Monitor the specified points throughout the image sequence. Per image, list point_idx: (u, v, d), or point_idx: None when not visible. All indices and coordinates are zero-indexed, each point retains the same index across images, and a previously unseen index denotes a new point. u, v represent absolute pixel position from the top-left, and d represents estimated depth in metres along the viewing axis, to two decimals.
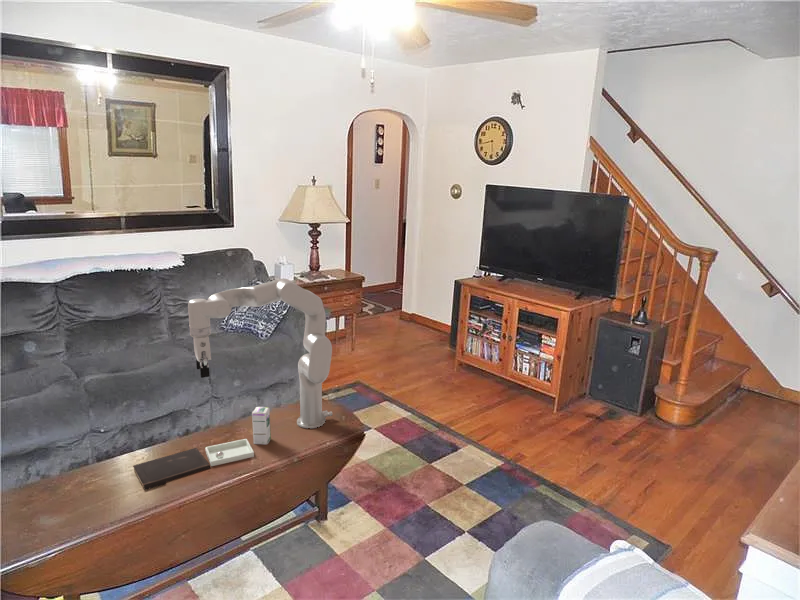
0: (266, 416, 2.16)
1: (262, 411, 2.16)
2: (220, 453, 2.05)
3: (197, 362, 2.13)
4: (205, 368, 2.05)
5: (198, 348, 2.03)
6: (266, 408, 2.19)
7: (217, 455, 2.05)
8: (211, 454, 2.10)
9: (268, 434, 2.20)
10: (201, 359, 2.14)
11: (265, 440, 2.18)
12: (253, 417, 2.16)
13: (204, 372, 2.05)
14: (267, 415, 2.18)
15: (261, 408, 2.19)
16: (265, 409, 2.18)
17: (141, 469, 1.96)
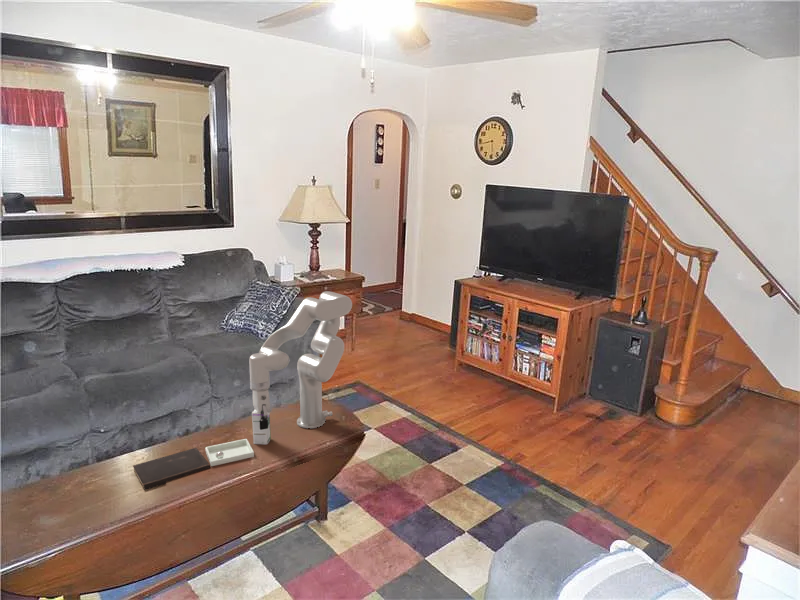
0: None
1: (262, 411, 2.16)
2: (220, 453, 2.05)
3: None
4: (265, 421, 2.14)
5: (259, 401, 2.12)
6: None
7: (217, 455, 2.05)
8: (211, 454, 2.10)
9: (268, 434, 2.20)
10: None
11: (265, 440, 2.18)
12: (253, 417, 2.16)
13: (263, 424, 2.14)
14: None
15: None
16: None
17: (141, 469, 1.96)
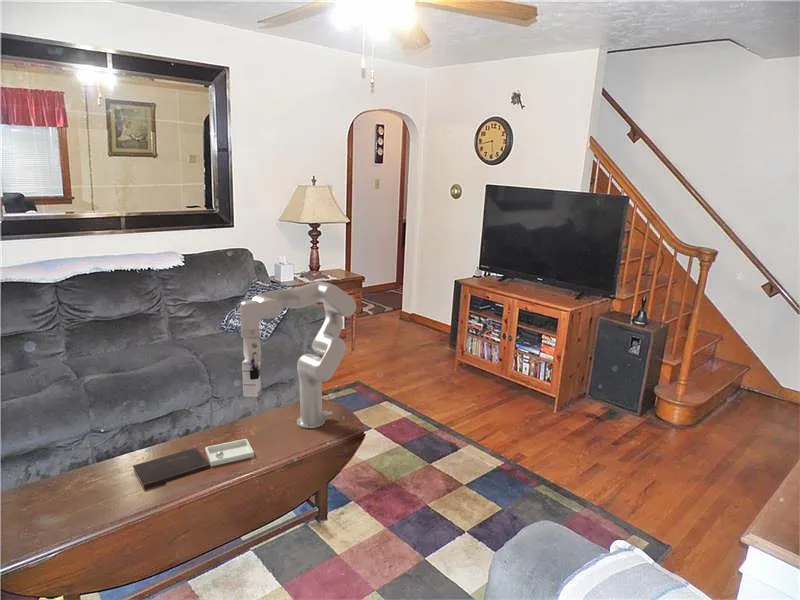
0: None
1: (253, 361, 2.08)
2: (220, 453, 2.05)
3: None
4: (255, 370, 2.06)
5: (249, 349, 2.04)
6: None
7: (217, 455, 2.05)
8: (211, 454, 2.10)
9: (258, 385, 2.12)
10: None
11: (255, 391, 2.10)
12: (243, 367, 2.08)
13: (254, 374, 2.07)
14: (258, 365, 2.10)
15: None
16: None
17: (141, 469, 1.96)
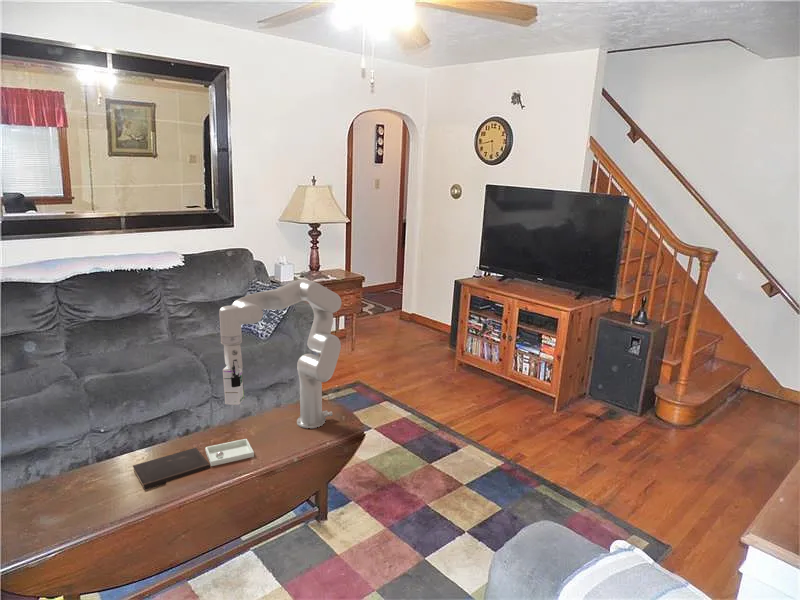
0: None
1: (234, 368, 2.02)
2: (220, 453, 2.05)
3: None
4: (236, 378, 2.01)
5: (230, 356, 1.98)
6: None
7: (217, 455, 2.05)
8: (211, 454, 2.10)
9: (241, 393, 2.06)
10: None
11: (237, 399, 2.04)
12: (224, 374, 2.02)
13: (235, 382, 2.01)
14: (240, 372, 2.04)
15: None
16: None
17: (141, 469, 1.96)
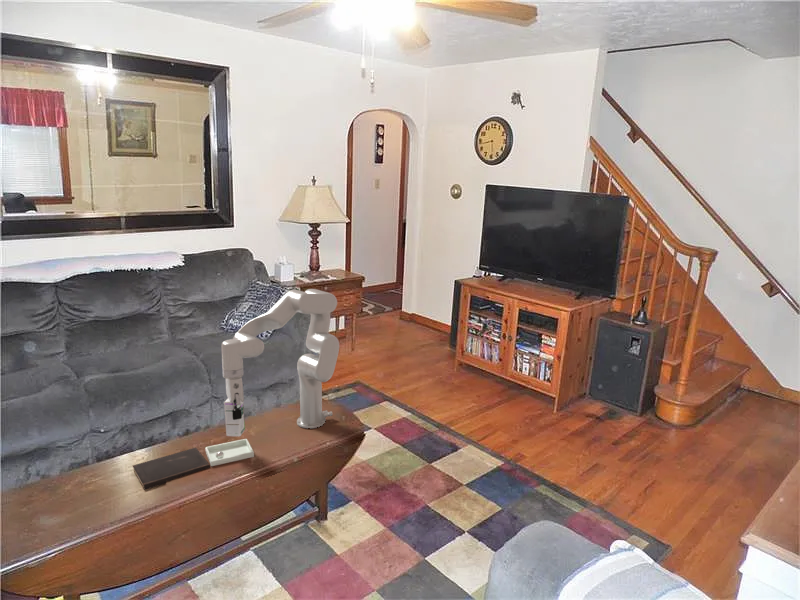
0: None
1: (235, 400, 2.05)
2: (220, 453, 2.05)
3: None
4: (238, 411, 2.04)
5: (231, 390, 2.01)
6: None
7: (217, 455, 2.05)
8: (211, 454, 2.10)
9: (242, 425, 2.09)
10: None
11: (238, 431, 2.07)
12: (225, 406, 2.05)
13: (236, 414, 2.04)
14: (241, 404, 2.07)
15: None
16: None
17: (141, 469, 1.96)
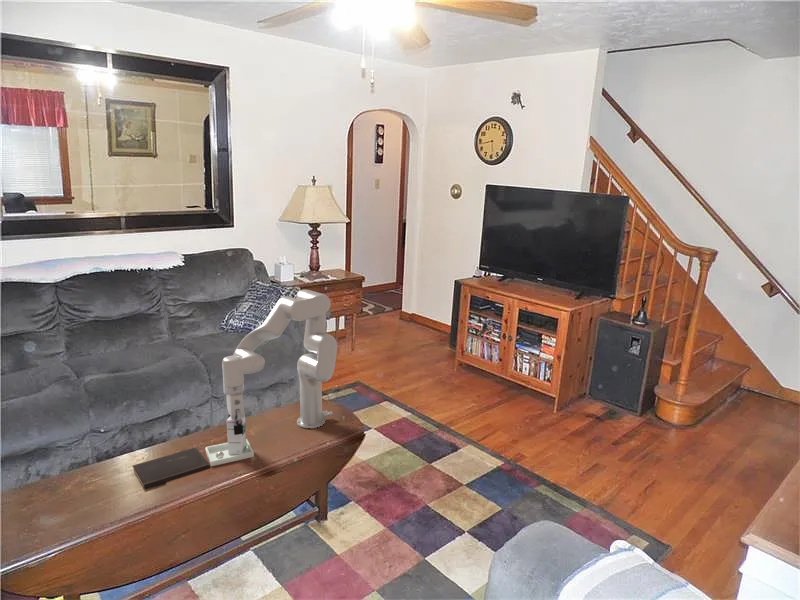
0: None
1: None
2: (220, 453, 2.05)
3: None
4: (239, 426, 2.04)
5: (232, 406, 2.03)
6: None
7: (217, 455, 2.05)
8: (211, 454, 2.10)
9: (243, 442, 2.11)
10: None
11: (240, 449, 2.09)
12: (228, 425, 2.07)
13: (238, 429, 2.05)
14: (243, 422, 2.10)
15: None
16: (241, 416, 2.10)
17: (140, 469, 1.96)
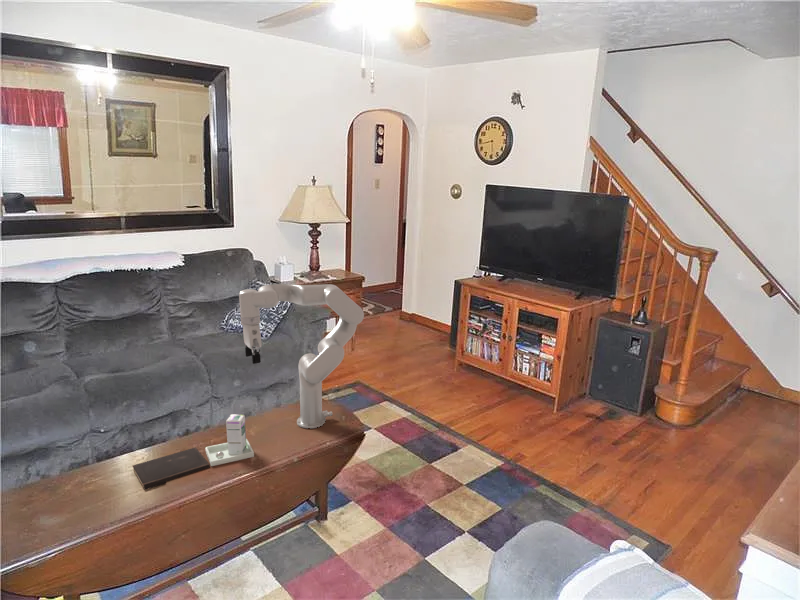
0: (241, 424, 2.07)
1: (237, 419, 2.08)
2: (220, 453, 2.05)
3: (246, 350, 2.25)
4: (257, 355, 2.17)
5: (250, 336, 2.15)
6: (241, 416, 2.10)
7: (217, 455, 2.05)
8: (211, 454, 2.10)
9: (243, 443, 2.11)
10: None
11: (240, 449, 2.09)
12: (227, 425, 2.07)
13: (256, 358, 2.18)
14: (242, 423, 2.10)
15: (236, 416, 2.10)
16: (240, 416, 2.10)
17: (140, 469, 1.96)
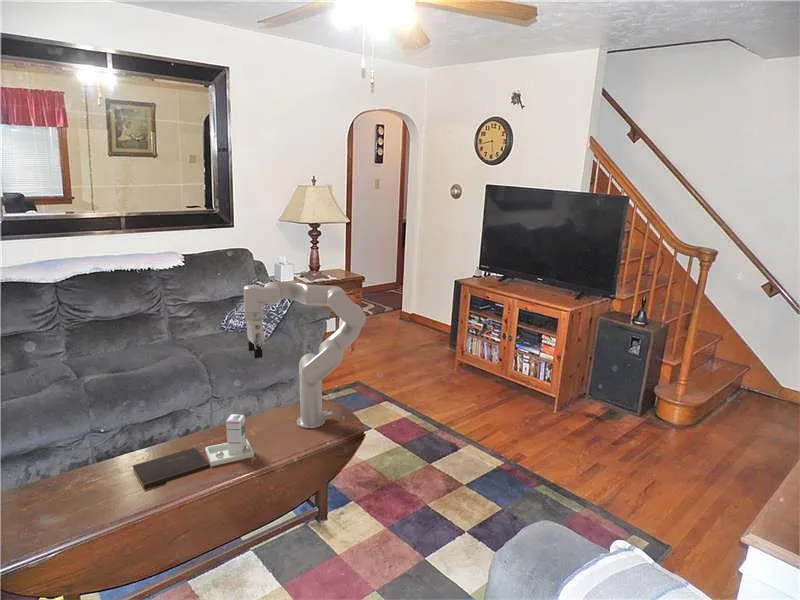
0: (241, 424, 2.07)
1: (237, 419, 2.08)
2: (220, 453, 2.05)
3: (249, 344, 2.29)
4: (259, 350, 2.20)
5: (253, 330, 2.19)
6: (241, 416, 2.10)
7: (217, 455, 2.05)
8: (211, 454, 2.10)
9: (243, 443, 2.11)
10: None
11: (240, 449, 2.09)
12: (227, 425, 2.07)
13: (258, 353, 2.21)
14: (242, 423, 2.10)
15: (236, 416, 2.10)
16: (240, 416, 2.10)
17: (140, 469, 1.96)
